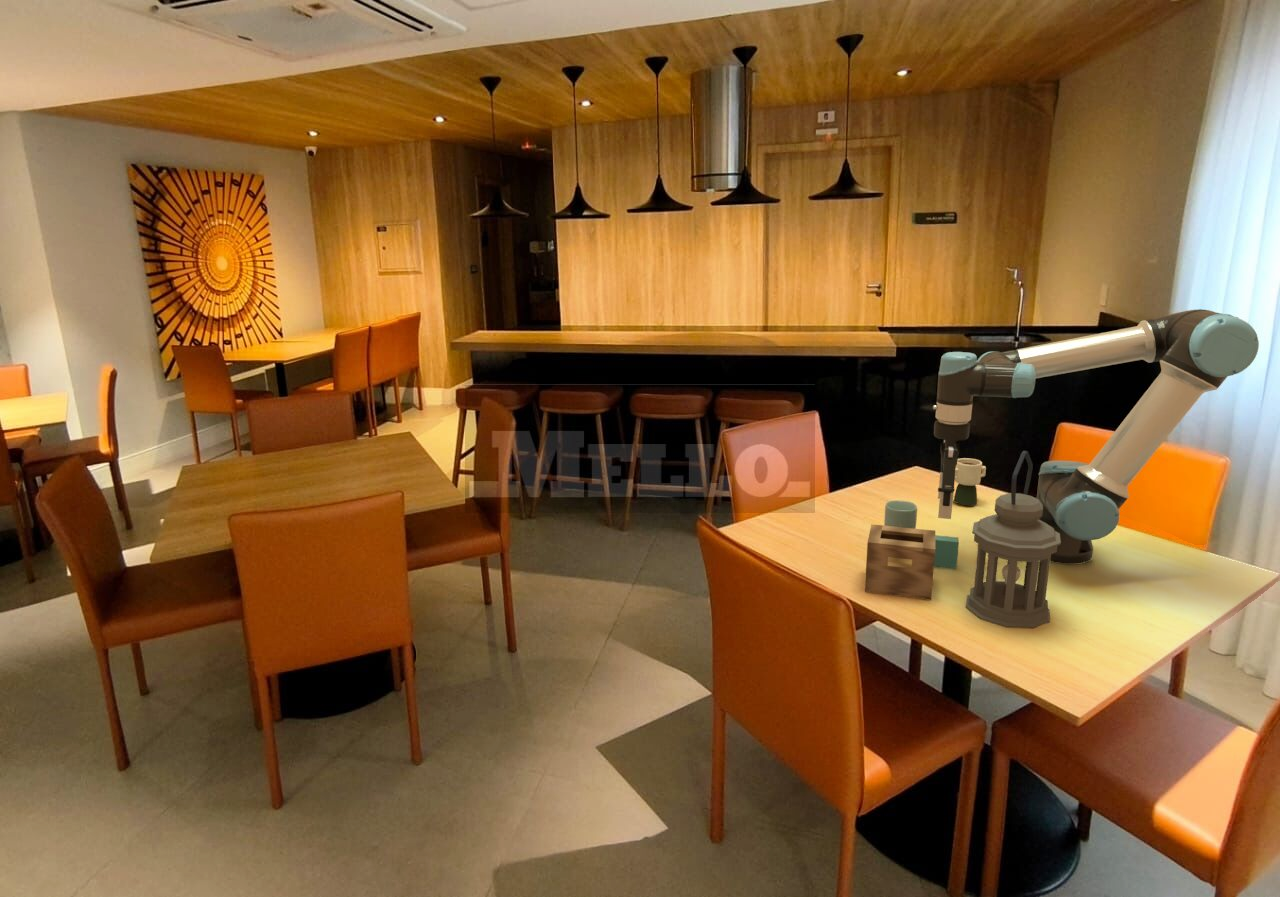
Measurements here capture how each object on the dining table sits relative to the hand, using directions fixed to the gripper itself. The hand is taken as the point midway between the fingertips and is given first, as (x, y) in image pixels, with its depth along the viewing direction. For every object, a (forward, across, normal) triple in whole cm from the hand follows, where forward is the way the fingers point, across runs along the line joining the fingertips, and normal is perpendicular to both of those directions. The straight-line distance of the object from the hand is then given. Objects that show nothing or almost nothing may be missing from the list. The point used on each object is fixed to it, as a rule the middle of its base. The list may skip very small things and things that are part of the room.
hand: (944, 508), depth 177 cm
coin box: (+15, +14, -9) cm, 22 cm away
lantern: (+15, +19, +13) cm, 28 cm away
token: (+15, 0, 0) cm, 15 cm away
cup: (+15, -12, -10) cm, 21 cm away
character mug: (+15, -46, +7) cm, 49 cm away
